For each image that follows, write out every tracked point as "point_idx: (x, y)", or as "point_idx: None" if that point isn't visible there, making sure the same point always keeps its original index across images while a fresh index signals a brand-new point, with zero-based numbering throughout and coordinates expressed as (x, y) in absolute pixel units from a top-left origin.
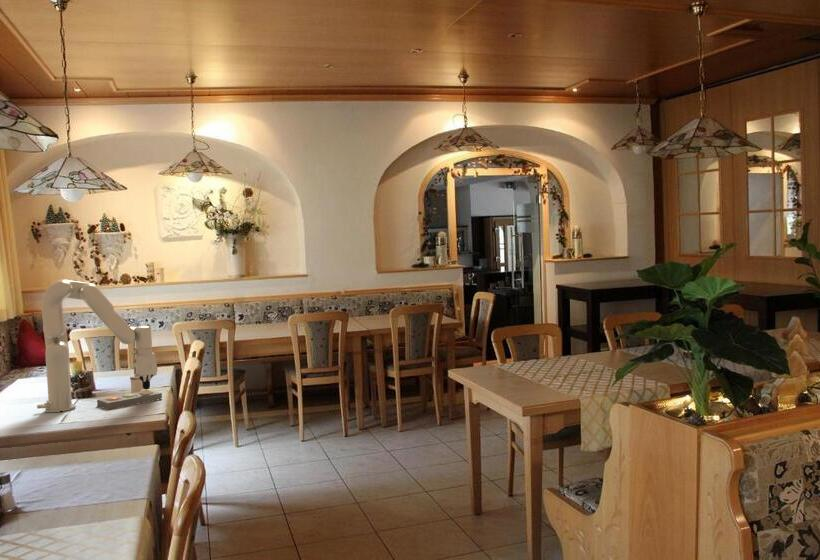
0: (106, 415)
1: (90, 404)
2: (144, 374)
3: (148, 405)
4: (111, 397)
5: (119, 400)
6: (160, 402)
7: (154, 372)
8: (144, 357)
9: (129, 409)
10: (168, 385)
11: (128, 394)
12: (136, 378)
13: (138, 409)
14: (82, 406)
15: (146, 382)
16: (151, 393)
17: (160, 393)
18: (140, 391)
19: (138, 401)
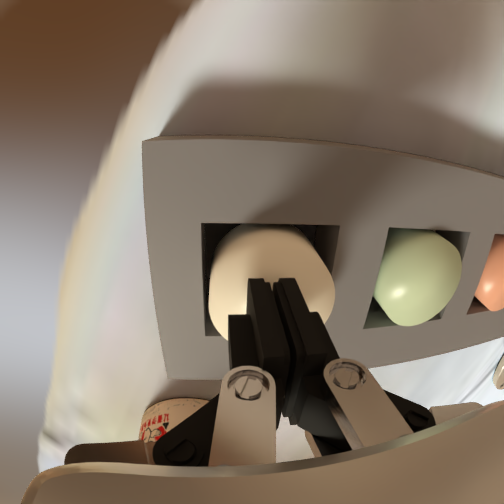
0: None
1: (467, 364)
2: (462, 439)
3: (379, 16)
4: (497, 307)
5: None
6: (248, 14)
7: (119, 496)
8: None
9: (494, 61)
10: (41, 437)
11: (411, 319)
12: (470, 404)
13: (465, 2)
14: (494, 348)
15: (314, 341)
16: (218, 254)
17: (159, 139)
18: (327, 312)
19: (404, 154)
